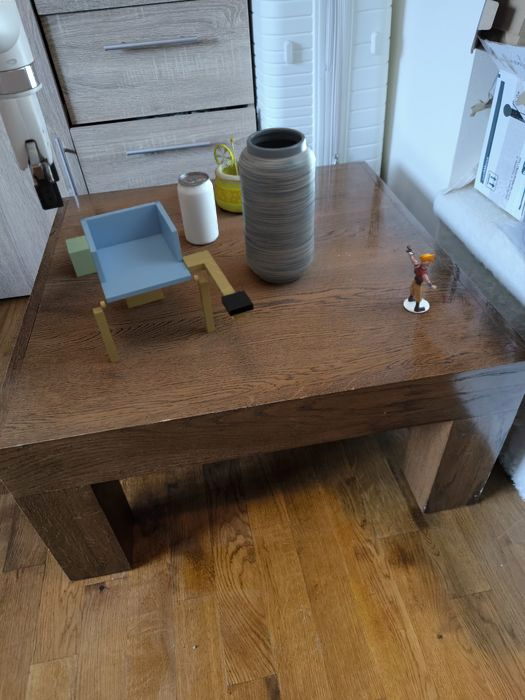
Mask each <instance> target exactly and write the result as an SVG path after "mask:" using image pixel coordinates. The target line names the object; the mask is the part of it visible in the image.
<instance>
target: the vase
mask: <svg viewBox="0 0 525 700" xmlns="http://www.w3.org/2000/svg"><path fill="white" fill-rule="evenodd" d="M238 159H239V162H238V164H239V176H240V188H241V199H242V211H243V212H242V220H243V233H244V244H245V257H246V262H247V265H248V266H249V268H250V269H251V271H252V272H253V273H254V274H255V275H257V276H258V277H259V278H260V279H261V280H264V282H268V283H272V284H288V283H291V282H294V281H296V280H298V279H300V278H301V277H302V276H303V275H304V273H306V271H308V270H309V268H310V267H311V266H312V264H313V261H314V256H315V208H316V207H315V206H316V205H315V203H316V154H315V153H314V150H313V148H312V147H311V146H310V145H309V144H308V143H307V138H306V134H304V133H303V132H302V131H300V130H297V129H295V128H291V127H270V128H263V129H260V130H257V131H254V132H252V133H251V134H250V135H249V136H248V137H247V139H246V146H245V147H244V148H243V149H242V151H241V152H240V154H239V157H238Z"/></svg>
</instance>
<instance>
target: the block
mask: <svg viewBox="0 0 525 700" xmlns="http://www.w3.org/2000/svg"><path fill="white" fill-rule="evenodd" d="M64 241H65V245H66V248H67V252H68V255H69V258H70V261H71V263H72V266H73V269H74V272H75V275H76V277H77V278H79V277H83V276H88V275H92V274H94V273H95V274H96V273H97V270H96V267H95V264H94V261H93V258H92V255H91V252H90V249H89V246H88V243H87V240H86V237H85V234H84V235H80V236H76V237H72V238H68V239H65V240H64Z"/></svg>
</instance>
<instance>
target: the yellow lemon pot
mask: <svg viewBox="0 0 525 700" xmlns="http://www.w3.org/2000/svg"><path fill="white" fill-rule="evenodd" d="M229 141H230V144H231V148H232V151H231V150H230V148H229V147H228V146H226V145H225V144H223V143H222V144H221V143H220V144H218V145H216V146H215V147H214V149H213V157H214V160H215V163H216V164H217V165H218V166H217V167H216V168H215V170H214V176H215V179H214V180H215V181H214V199H215V203H216V204H217V205H218V206H219V207H220V209H222V210H224V211H227V212H231V213H243V211H242V199H241V188H240V176H239V164H238V162H239V158H236V153H235V152H236V151H235V147H234V146H235V145H234V141H235V139H234V137H232V136H231V137H230V139H229ZM221 147H222V148H223V149H224V150H222V149H221ZM217 150H218V152H219V154H218V153H217ZM227 152H228V154H229V156H226V153H227ZM218 158H221V161H219V159H218Z"/></svg>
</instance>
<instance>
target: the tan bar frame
mask: <svg viewBox="0 0 525 700" xmlns="http://www.w3.org/2000/svg"><path fill="white" fill-rule="evenodd" d="M192 280H193V282H194V283H197V286H198V290H199V297H200V303H201V310H202V314H203V319H204V320H203V321H204V327H205V330H206V332H207V334H210V333H214V332H216V326H215V320H214V312H213V306H212V299H211V293H210V288H209V287H210V286H209V281H208V279H207V278H206V277H205V276H204V277H201V278H199V275H198V274H194V275H192ZM164 299H165V297H164V293H163V288H160V289H156V290H153V291H149V292H146V293H142V294H139V295H135V296H131V297H128V298H124V300H125V302H126V305H127V308H128V309H131V308H132V309H133V308H135V307H136V308H137V307H139V306H142V305H146V304H149V303H153V302H156V301H160V300H164ZM99 304H100V306H98V307H95V308H94V307H93V308H92V312H93V315H94V318H95V321H96V324H97V326H98V330H99V332H100V336H101V338H102V341H103V345H104V347H105V349H106V351H107V355H108V358H109V360H110V363H111V364H113V363H117V362H119V361H120V357H119V355H118V354H119V353H118V352H117V348H116V345H115V343H114V340H113V337H112V333H111V331H110V327H109V324H108V322H107V319H106V316H105V313H104V309H106V308H107V305H106V302H105V300H101V301H99Z"/></svg>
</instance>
